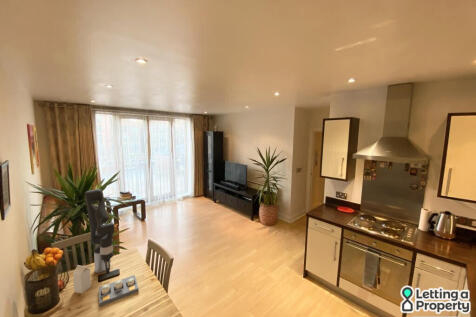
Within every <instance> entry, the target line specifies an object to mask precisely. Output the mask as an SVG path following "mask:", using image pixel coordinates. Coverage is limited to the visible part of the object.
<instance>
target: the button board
mask: <svg viewBox="0 0 476 317" xmlns="http://www.w3.org/2000/svg"><path fill="white" fill-rule="evenodd" d="M130 278H134V285H132V286H129V287H127V281H128V279H130ZM120 280H122V288H121V289H118V290H116V289H115V282H116V281H113V282H111V283H108V284H109V285H110V291H109V293H107V294H104V295H103V294H102V286H103V285H101V286H99V287H98V302H99V303H98V305H99V308H101V307H104V306H106V304H107V305H109V304H111V303H114V302H118V301H119V300H121V299H124V298H126V297H129V296H131V295H135V294H136V293H139V285H138V282H137V277H136V275H135V274H133V275H130V276H127V277H125V278H121V279H120Z"/></svg>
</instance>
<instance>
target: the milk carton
mask: <svg viewBox="0 0 476 317" xmlns="http://www.w3.org/2000/svg"><path fill="white" fill-rule="evenodd" d="M90 269H91V268H88V267H87V265H79V264H77V265H76V268H75V270H74V271H73V272H72V277H73V279H72V280H73V292H74V293H77V294H83V293H86V291H87V290H88V289H90V288H91V287H92V286H91V285H92V283H91V282H92V281H91V270H90Z"/></svg>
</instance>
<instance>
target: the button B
mask: <svg viewBox="0 0 476 317" xmlns="http://www.w3.org/2000/svg"><path fill="white" fill-rule="evenodd" d="M114 282H115V289H116V290H118V289H121V288H122V280H121V279H118V280H116V281H114Z"/></svg>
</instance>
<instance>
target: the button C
mask: <svg viewBox="0 0 476 317" xmlns="http://www.w3.org/2000/svg"><path fill="white" fill-rule="evenodd" d="M132 285H134V278H130V279H128V281H127V287H129V286H132Z"/></svg>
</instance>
